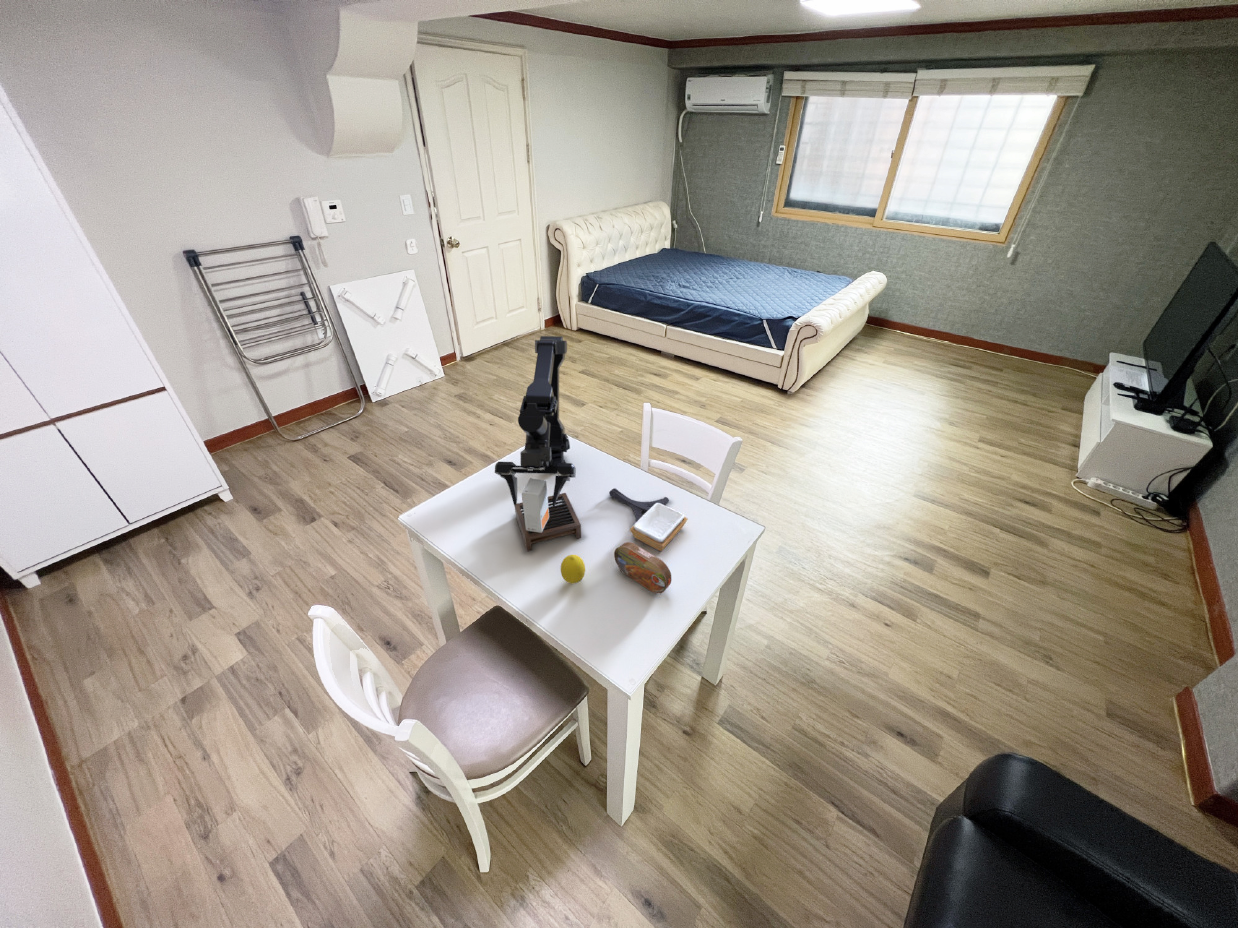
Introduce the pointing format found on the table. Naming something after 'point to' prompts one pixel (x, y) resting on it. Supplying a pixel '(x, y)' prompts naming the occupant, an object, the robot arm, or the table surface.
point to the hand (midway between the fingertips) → (534, 505)
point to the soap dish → (658, 526)
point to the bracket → (636, 503)
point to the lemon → (572, 569)
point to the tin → (643, 567)
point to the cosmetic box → (535, 505)
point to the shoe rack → (551, 522)
